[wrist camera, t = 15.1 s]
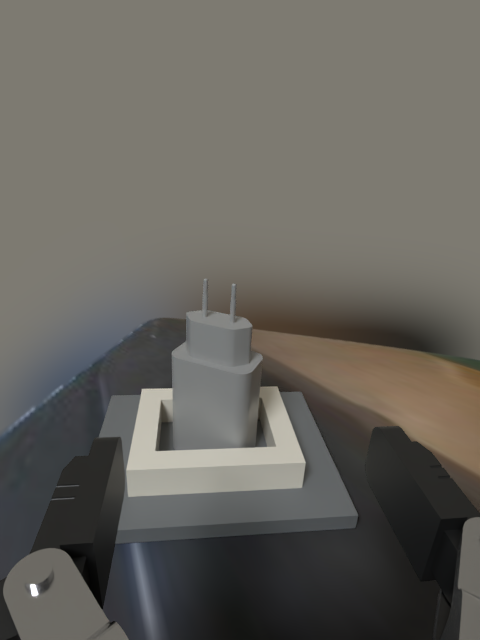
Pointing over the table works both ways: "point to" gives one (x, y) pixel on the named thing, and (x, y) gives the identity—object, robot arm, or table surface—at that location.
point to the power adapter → (215, 381)
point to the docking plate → (225, 474)
